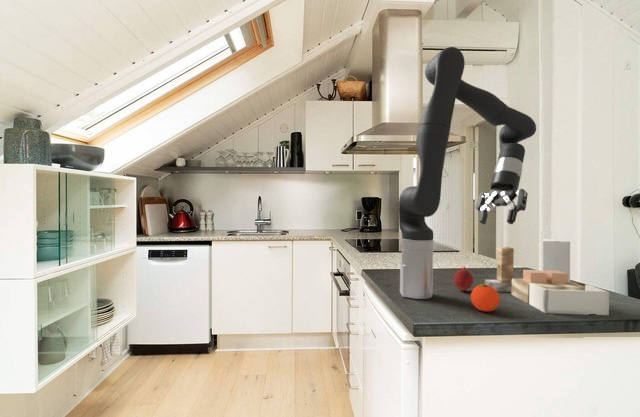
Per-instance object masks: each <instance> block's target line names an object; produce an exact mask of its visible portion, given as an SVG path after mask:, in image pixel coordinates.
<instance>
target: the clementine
mask: <svg viewBox="0 0 640 417" xmlns="http://www.w3.org/2000/svg"><path fill="white" fill-rule="evenodd" d="M470 300H471V303H472V305H473V306H474V307H475V308H476V309H477V310H479V311H481V312H491V311H492V312H493V311H495V309H496V308H498V306H499V304H500V301H501V298H500V295H499V292H497V291H496V290H495V289H494V288H493V287H492V286H489V285H486V284H485V283H478V284H477V286H475V287H474V288H473V289H472V291H471V292H470Z"/></svg>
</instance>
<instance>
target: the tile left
mask: <svg viewBox="0 0 640 417" xmlns="http://www.w3.org/2000/svg"><path fill="white" fill-rule="evenodd" d="M522 272H523V273H522V279H523V280H525V281H528V282H530V283H547V273H545V272H543V270H539V269H523V270H522Z"/></svg>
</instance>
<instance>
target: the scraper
mask: <svg viewBox="0 0 640 417" xmlns="http://www.w3.org/2000/svg"><path fill="white" fill-rule="evenodd" d="M496 247H497V248H496V251H497V252H496V279H487V278H486V279H484V284H486V285H489V286H492V287H493V288H494V289H495V290H496V291H497V292H498V293H499V292H500V293H512V278H514V256H515V255H514V254H515V250H514V248H513V247H510V246H496Z"/></svg>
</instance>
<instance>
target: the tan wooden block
mask: <svg viewBox="0 0 640 417" xmlns="http://www.w3.org/2000/svg"><path fill="white" fill-rule="evenodd" d="M534 284H536V285H538V286H541V287H543V288H545V289H554V290H585V285H581V284H579V283H576V282H573V281H571V280H570V281H568V284H553V283H550V282H547V283H534ZM529 287H530V282H528V281H525V280H523V278H517V277H515V278H514V277H513V278H512V292H510V293H511V295H512V296H514V297H515V298H517V299H519V300H521V301H522V302H524V303H525V304H528V305H530V304H529Z"/></svg>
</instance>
